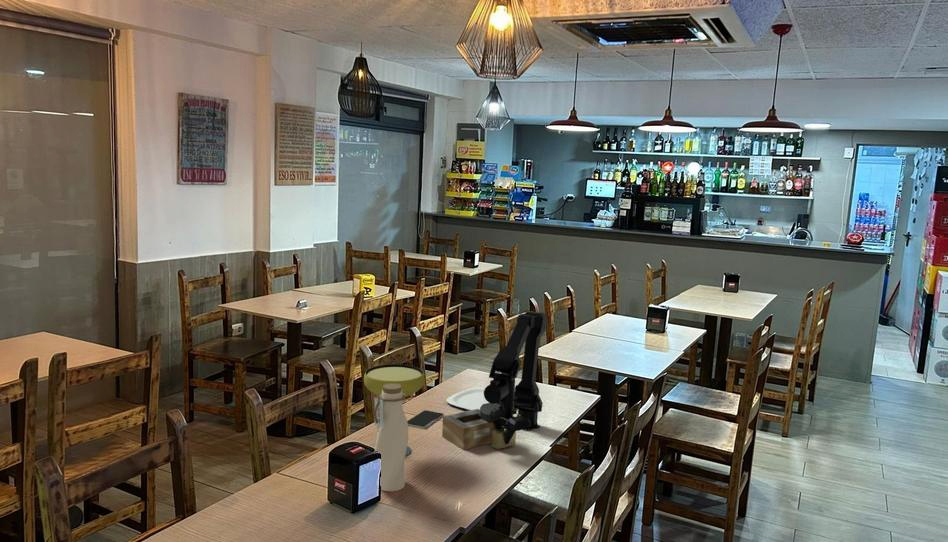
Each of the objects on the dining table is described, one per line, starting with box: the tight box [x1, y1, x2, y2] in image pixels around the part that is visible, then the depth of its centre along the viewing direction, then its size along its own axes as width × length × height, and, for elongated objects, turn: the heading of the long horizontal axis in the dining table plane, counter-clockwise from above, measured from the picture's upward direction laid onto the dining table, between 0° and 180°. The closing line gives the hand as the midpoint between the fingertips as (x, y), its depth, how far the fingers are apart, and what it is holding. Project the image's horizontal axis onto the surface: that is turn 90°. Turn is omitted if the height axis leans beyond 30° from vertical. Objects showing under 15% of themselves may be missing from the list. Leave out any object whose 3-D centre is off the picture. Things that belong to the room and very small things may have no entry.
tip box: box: [441, 409, 496, 450], centre depth 218 cm, size 14×12×7 cm
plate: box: [445, 386, 489, 411], centre depth 254 cm, size 25×25×2 cm
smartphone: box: [407, 409, 445, 430], centre depth 234 cm, size 8×1×15 cm
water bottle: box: [373, 384, 409, 492], centre depth 182 cm, size 10×9×28 cm
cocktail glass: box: [363, 363, 425, 457], centre depth 205 cm, size 18×18×25 cm
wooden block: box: [491, 428, 517, 450], centre depth 212 cm, size 7×3×5 cm, turn 125°
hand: (503, 442), depth 212 cm, fingers closed on wooden block, 3 cm apart
